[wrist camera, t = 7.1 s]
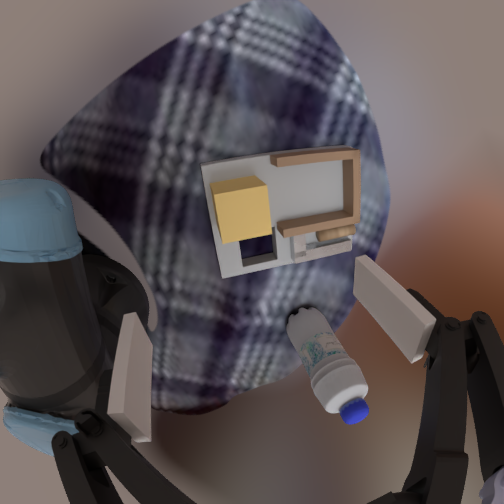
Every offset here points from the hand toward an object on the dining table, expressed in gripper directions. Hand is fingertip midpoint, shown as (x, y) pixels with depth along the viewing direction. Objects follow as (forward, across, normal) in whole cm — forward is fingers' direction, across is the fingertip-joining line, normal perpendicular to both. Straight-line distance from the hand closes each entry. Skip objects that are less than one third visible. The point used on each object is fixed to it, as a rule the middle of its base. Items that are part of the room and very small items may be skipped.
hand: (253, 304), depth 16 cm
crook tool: (+17, +12, -6) cm, 22 cm away
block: (+17, +2, +1) cm, 18 cm away
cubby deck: (+19, +8, -2) cm, 21 cm away
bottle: (+20, +10, -21) cm, 30 cm away
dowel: (+17, +14, -6) cm, 23 cm away
